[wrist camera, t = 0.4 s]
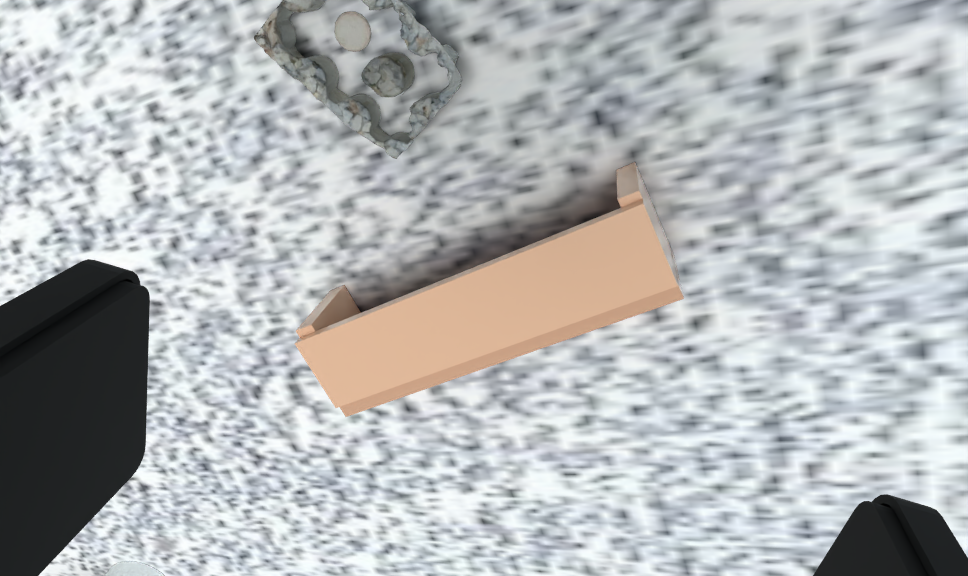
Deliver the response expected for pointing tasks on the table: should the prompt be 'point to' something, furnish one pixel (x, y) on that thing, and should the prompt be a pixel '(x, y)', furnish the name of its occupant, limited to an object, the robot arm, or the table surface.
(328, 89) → the egg carton
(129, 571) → the cylindrical container
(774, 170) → the table surface
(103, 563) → the table surface
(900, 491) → the table surface
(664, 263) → the shelf
